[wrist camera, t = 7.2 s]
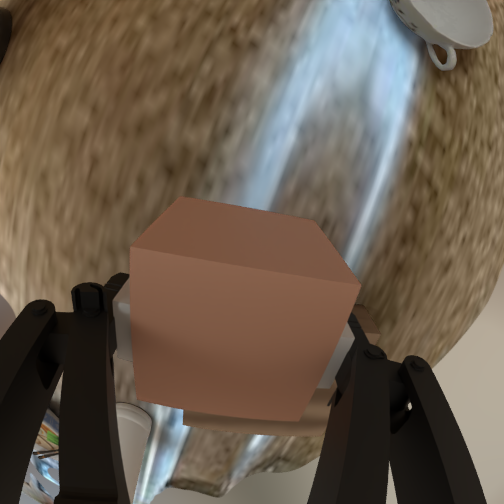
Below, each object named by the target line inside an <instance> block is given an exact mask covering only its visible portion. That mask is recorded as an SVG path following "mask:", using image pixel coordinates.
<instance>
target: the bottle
mask: <svg viewBox="0 0 504 504" xmlns="http://www.w3.org/2000/svg"><path fill="white" fill-rule="evenodd" d="M116 412H117V423H118V432H119V440H120V448H121V455H122V461H123V467H124V473H125V479H126V484H127V489H128V494H129V498H130V503H131V504H132V503H133V499H134V494H135V489H136V485H137V481H138V476H139V472H140V468H141V464H142V460H143V456H144V451H145V447H146V443H147V440H148V436H149V434H150V430H151V424H152V421H151V418H150V417H149V415H148V414H147V413H146V412H145V411H143V410H142V409H140V408H138V407H137V406H134V405H131V404H128V403H116Z"/></svg>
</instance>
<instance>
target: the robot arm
mask: <svg viewBox="0 0 504 504" xmlns="http://www.w3.org/2000/svg"><path fill="white" fill-rule="evenodd" d="M11 27H12V19H11V15H10V12H9V11H8V10H7V9H5V8H2V7H0V63H1V61H2V59H3V56H4V54H5V51H6V48H7V45H8V42H9V38H10V34H11ZM71 295H72V302H73V309H74V312H69V313H68V312H56V311H55V306H54V304H53V303H52V302H50V301H48V300H41V299H40V300H35V301H32V302H30V303H29V304H28V305H26V306H25V308H24V309H23V310H22V312H21V313H20V314H19V315H18V317H17V318H16V319H15V321H14V322H13V323H12V325H11V326H10V327H9V329H8V330H7V331H6V333H5V334H4V335H3V337H2V338H1V340H0V504H19V500H20V496H21V491H22V487H23V483H24V479H25V475H26V472H27V468H28V465H29V461H30V458H31V455H32V452H33V448H34V445H35V442H36V439H37V436H38V433H39V430H40V428H41V425H42V422H43V419H44V417H45V414H46V411H47V409H48V406H49V403H50V401H51V398H52V396H53V394H54V391H55V389H56V386H57V384H58V382H59V379H60V377H61V375H62V372H63V379H62V389H61V400H60V414H59V440H58V458H59V484H60V492H59V494H58V495H57V496H56V497H55V499H54V504H131V503H130V498H129V494H128V489H127V484H126V479H125V473H124V467H123V461H122V455H121V448H120V440H119V432H118V423H117V412H116V400H115V385H114V362H113V354H114V352H115V350H116V348H117V357H118V358H119V359H123V360H127V361H131V362H133V355H132V341H131V322H130V274H126V273H121V272H120V273H118V274H116V275H114V276H112V277H111V278H110V280H109V281H108V282H107V284H105V286H104V287H103V286H102V285H100V284H98V283H92V282H88V283H82V284H78V285H77V286H75V287H74V288H73V289H72V291H71ZM361 328H362V327H361V325H360V323H359V322H358V320H357V318H356V316H355V315H354V314H353V313H352V312H351V313H350V316H349V318H348V321H347V323H346V325H345V328H344V330H343V332H342V335H341V337H340V339H339V341H338V344H337V346H336V348H335V350H334V353H333V355H332V357H331V359H330V361H329V363H328V365H327V367H326V370H325V372H324V374H323V376H322V378H321V380H320V382H319V384H318V386H317V388H327V389H330V387H331V385H332V383H333V382H334V380H336V383H337V388H336V390H335V392H334V393H333V395H332V397H331V399H330V400H329V402H328V404H327V406H330V404H331V403H332V404H331V409H330V414H329V419H328V424H327V428H326V433H325V437H324V442H323V446H322V450H321V454H320V459H319V462H318V467H317V471H316V474H315V478H314V481H313V485H312V488H311V492H310V495H309V499H308V502H307V504H386V496H387V485H388V470H389V461H390V466H391V471H392V476H393V481H394V486H395V491H396V497H397V503H398V504H487V503H486V499H485V496H484V493H483V490H482V487H481V484H480V481H479V478H478V475H477V472H476V469H475V467H474V464H473V461H472V458H471V456H470V453H469V451H468V448H467V446H466V443H465V441H464V438H463V436H462V433H461V431H460V429H459V426H458V424H457V422H456V420H455V417H454V415H453V413H452V411H451V408H450V406H449V404H448V402H447V400H446V398H445V395H444V394H443V391H442V389H441V387H440V385H439V383H438V381H437V379H436V377H435V375H434V373H433V372H432V369H431V367H430V366H429V364H428V363H427V362H426V361H425V360H424V359H423V358H420V357H418V356H414V355H410V356H407V357H405V359H404V361H403V363H398V362H394V361H390V360H387V356H386V353H385V352H384V351H383V350H382V349H380V348H379V347H378V346H375V345H373V344H370V342H369V340H368V339H367V337H366V335H365V333H364V331H363V329H361ZM63 370H64V371H63ZM410 402H411V405H412V409H411V410H409V409H408V404H409V403H410Z"/></svg>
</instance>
